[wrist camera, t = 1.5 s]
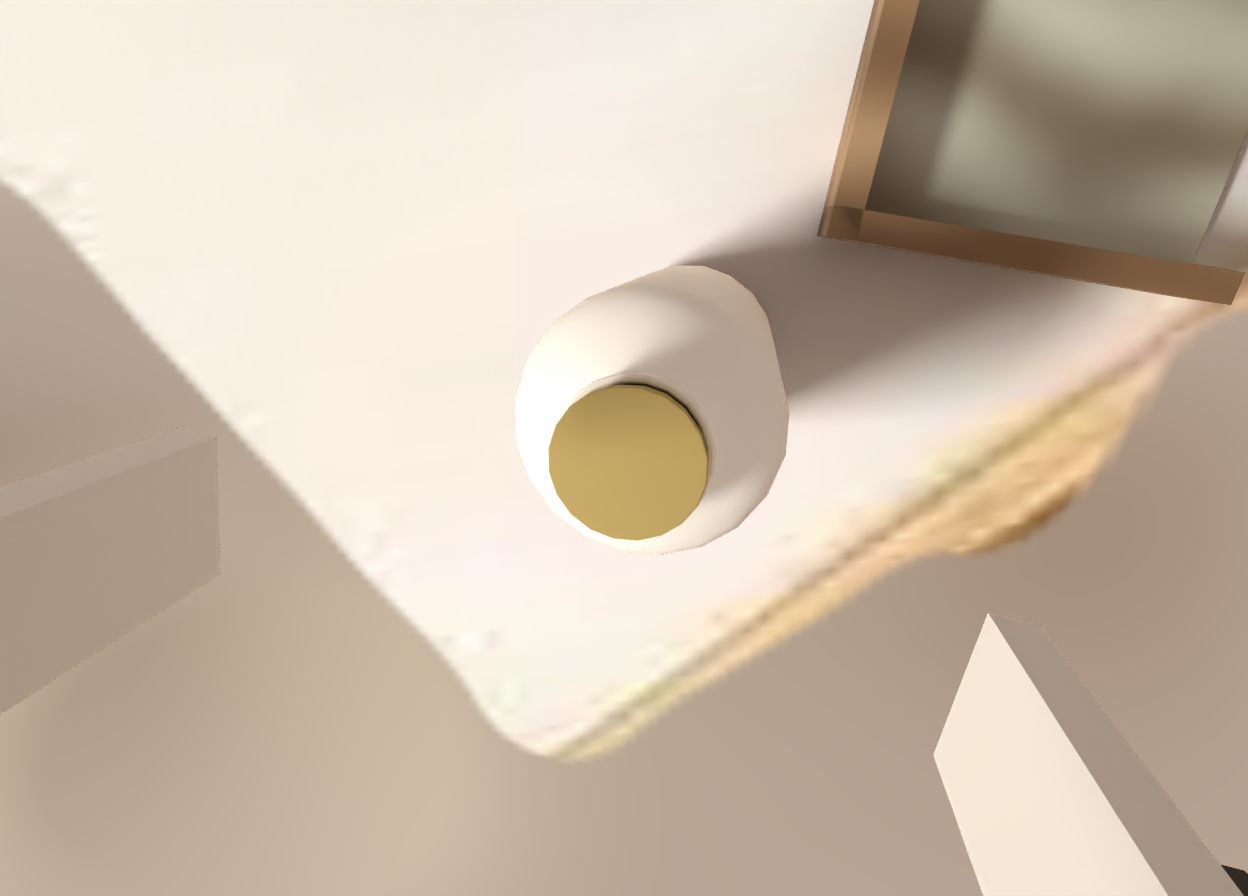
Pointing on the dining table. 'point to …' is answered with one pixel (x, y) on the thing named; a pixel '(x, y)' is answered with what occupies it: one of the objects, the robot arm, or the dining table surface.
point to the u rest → (1047, 136)
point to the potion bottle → (655, 411)
